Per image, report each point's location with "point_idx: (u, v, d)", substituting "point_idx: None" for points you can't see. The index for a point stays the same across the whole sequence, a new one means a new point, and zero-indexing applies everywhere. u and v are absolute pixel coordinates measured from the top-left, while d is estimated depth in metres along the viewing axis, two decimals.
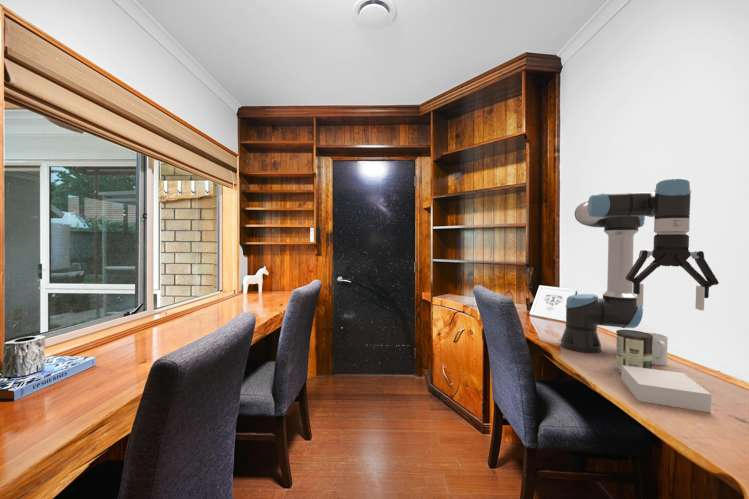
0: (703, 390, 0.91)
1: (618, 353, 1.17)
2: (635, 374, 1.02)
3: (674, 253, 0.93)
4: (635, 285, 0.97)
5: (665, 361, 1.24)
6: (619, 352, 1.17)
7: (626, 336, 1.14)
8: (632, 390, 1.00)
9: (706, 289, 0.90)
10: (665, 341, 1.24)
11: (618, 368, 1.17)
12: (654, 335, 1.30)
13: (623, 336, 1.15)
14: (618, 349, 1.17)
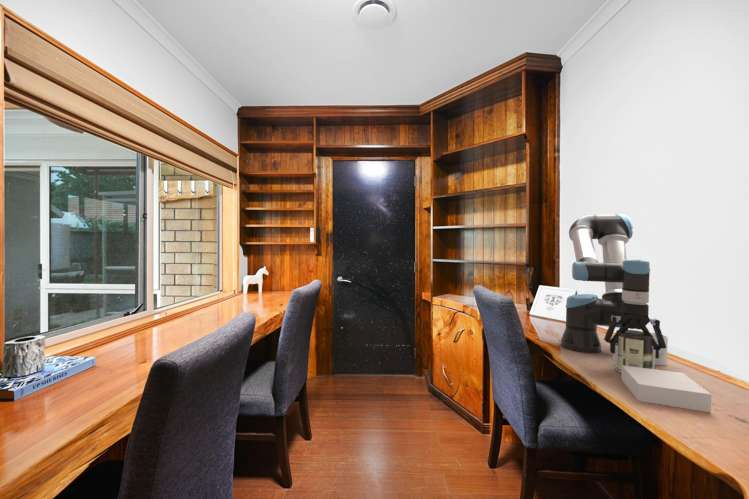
0: (703, 390, 0.91)
1: (618, 353, 1.17)
2: (635, 374, 1.02)
3: (637, 317, 1.15)
4: (611, 346, 1.19)
5: (665, 361, 1.24)
6: (619, 352, 1.17)
7: (626, 336, 1.14)
8: (632, 390, 1.00)
9: (657, 351, 1.14)
10: (665, 341, 1.24)
11: (618, 368, 1.17)
12: (654, 335, 1.30)
13: (623, 336, 1.15)
14: (618, 349, 1.17)
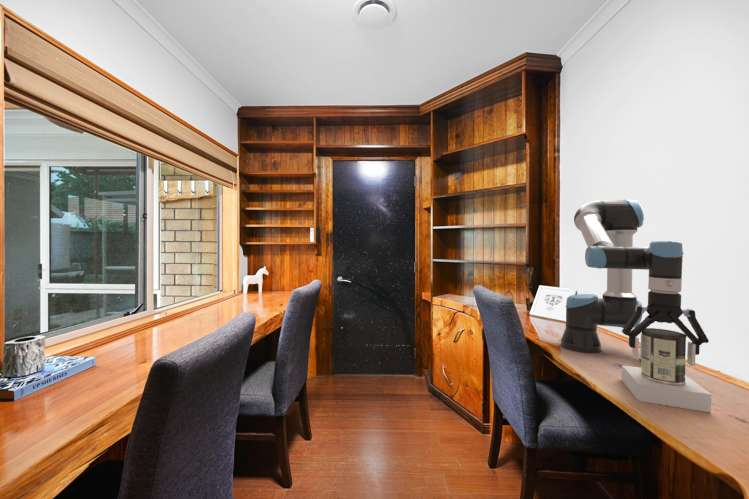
0: (703, 390, 0.91)
1: (644, 356, 1.00)
2: (635, 374, 1.02)
3: (667, 310, 0.98)
4: (631, 339, 1.02)
5: None
6: (645, 355, 1.00)
7: (654, 336, 0.97)
8: (632, 390, 1.00)
9: (697, 346, 0.95)
10: None
11: (644, 373, 1.00)
12: None
13: (650, 336, 0.98)
14: (644, 351, 1.00)
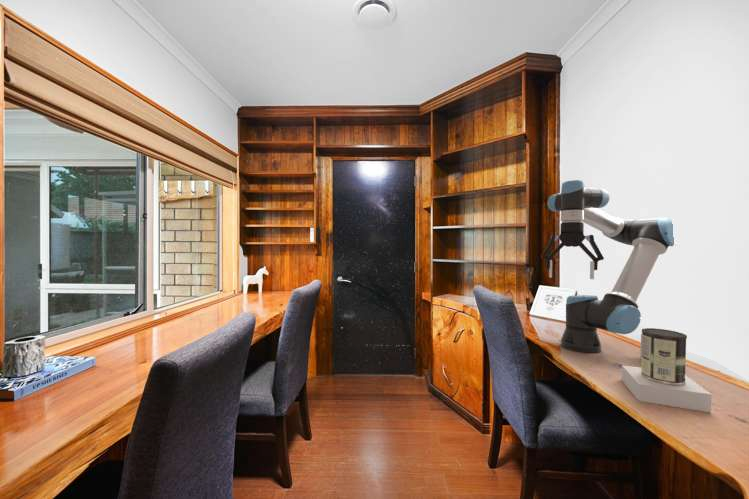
0: (703, 390, 0.91)
1: (644, 356, 1.00)
2: (635, 374, 1.02)
3: (573, 236, 1.22)
4: (547, 261, 1.26)
5: None
6: (645, 355, 1.00)
7: (655, 336, 0.97)
8: (632, 390, 1.00)
9: (595, 263, 1.20)
10: None
11: (644, 373, 1.00)
12: None
13: (651, 336, 0.98)
14: (644, 351, 1.00)
